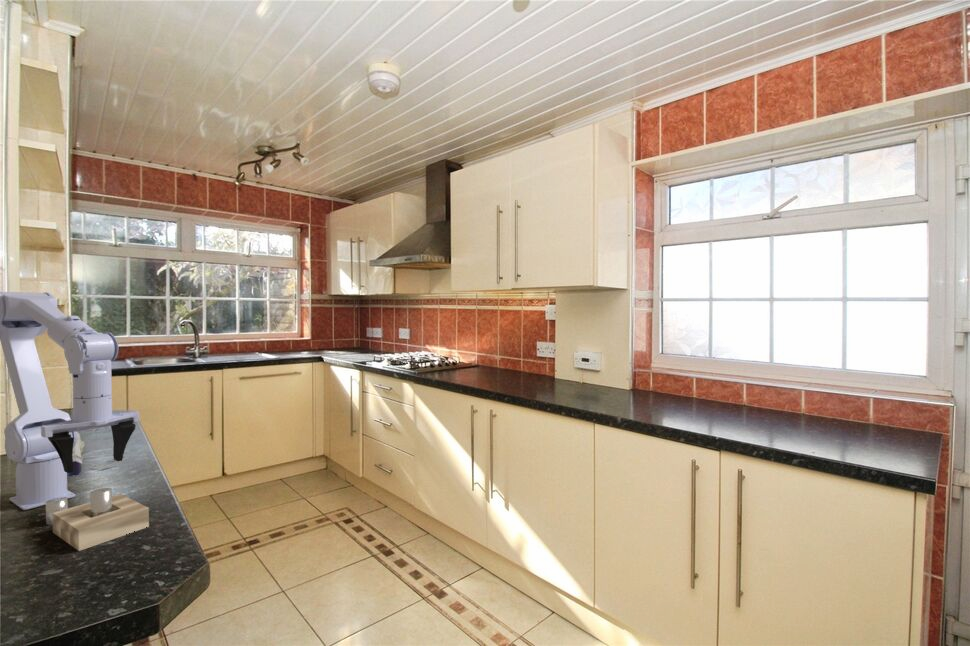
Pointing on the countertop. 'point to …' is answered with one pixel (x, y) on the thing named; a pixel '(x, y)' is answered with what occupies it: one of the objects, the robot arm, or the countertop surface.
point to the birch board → (99, 522)
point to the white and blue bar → (77, 457)
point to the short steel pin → (55, 507)
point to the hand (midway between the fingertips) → (94, 465)
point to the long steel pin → (100, 502)
